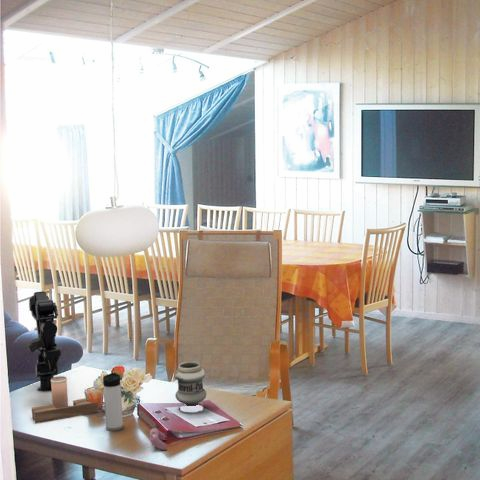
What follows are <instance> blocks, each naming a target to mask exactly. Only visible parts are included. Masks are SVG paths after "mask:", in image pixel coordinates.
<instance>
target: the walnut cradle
mask: <svg viewBox="0 0 480 480" xmlns="http://www.w3.org/2000/svg"><path fill="white" fill-rule="evenodd" d="M86 398H87V397H86ZM86 398H79V399H74V400H72V405H68V407H62V408H55V407H54V405H53V403H51V404H49V403H48V404H44V405H38V406H32V407H31V416H32V420H33V421H34V422H35V424H39V423H40V424H41V423H45V422H46V423H47V422H51V421H56V420H63V419H67V418H73V417H80V416H85V415H91V414H95V413H94V412H97V413H99V405H98V401H97V402H96V403H91V402H87V400H86Z"/></svg>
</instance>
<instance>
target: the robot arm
mask: <svg viewBox="0 0 480 480" xmlns="http://www.w3.org/2000/svg"><path fill="white" fill-rule="evenodd" d="M28 300H29V301H28V307H29V312H30V313H31V316H32V318H33V319H34V320H35V322H36V323H35V324H36V329H37V338H34V339H32V340H31V341H29V342H27V343H26V346H27V349H28V351H29V352H30V353H35V351H36V350H38V351H39V355H38V357H37V360H36V363H35V376H36V377H37V378H39V382H40V383H39V384H40V386H39V387H38V388H37V389H36V390H37V391H47V392H48V391H49V392H52V388H51V378H54V377H55V376H54V375H58V374H59V363H58V361H59V359H60V357H61V355H62V350H61V349H60V348H59V347H57V343H56V337H57V333H58V325H56V323H55V320H54V319H58V316H59V312H58V306H57V304H56V303H55V302H54V300H53V299H50V296H48V295H47V291H44V290H42V291H35V292H33V295H32V296H31V297H30V298H29V299H28Z"/></svg>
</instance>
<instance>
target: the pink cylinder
mask: <svg viewBox="0 0 480 480" xmlns="http://www.w3.org/2000/svg"><path fill="white" fill-rule="evenodd" d="M67 380H68V378H67V377H66V376H63V375H61V376H60V375H59V376H54V378H51V388H52V391H51V398H52V399H51V401H52V403H51V404H53V405H54V407H55V408H62V407H68V406H69V398H68V381H67Z"/></svg>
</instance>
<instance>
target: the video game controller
mask: <svg viewBox="0 0 480 480" xmlns="http://www.w3.org/2000/svg"><path fill="white" fill-rule="evenodd" d="M165 435H166V434H165V433H164V432H162V431H160V430H159V429H158V428H156V427H154V428H151V429H150V430H149V441H150V442H151V444H152V446H154V447H155V448H157V449H159V450H161V451H166V450H167V449H168V445H167V444H166V443H165V442H164V440H165V437H167V435H166V436H165ZM165 441H166V440H165Z"/></svg>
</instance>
